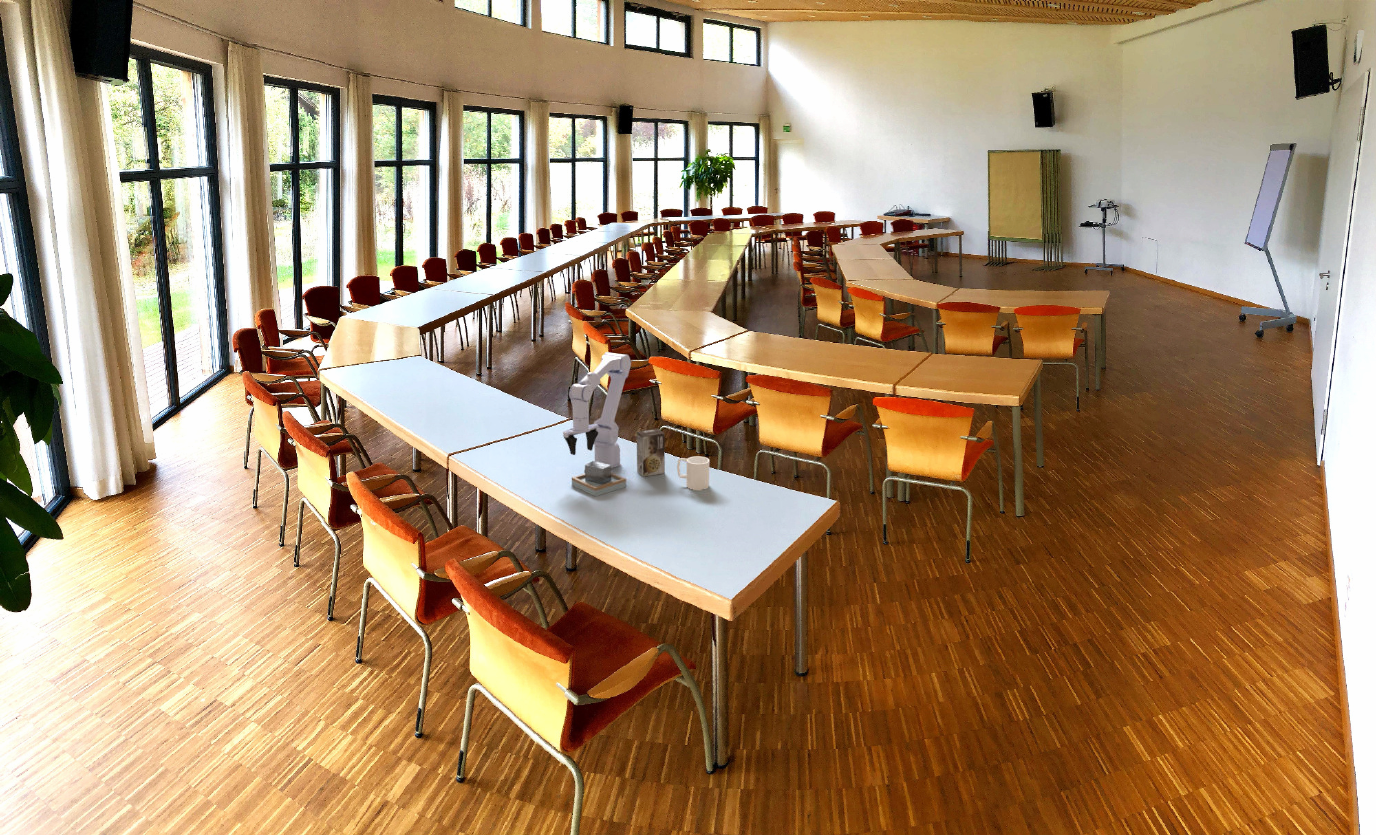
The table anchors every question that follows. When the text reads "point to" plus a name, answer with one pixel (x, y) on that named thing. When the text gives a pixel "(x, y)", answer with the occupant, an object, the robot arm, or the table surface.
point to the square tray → (597, 488)
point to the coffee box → (650, 452)
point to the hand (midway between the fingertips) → (581, 452)
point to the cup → (696, 472)
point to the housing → (597, 472)
